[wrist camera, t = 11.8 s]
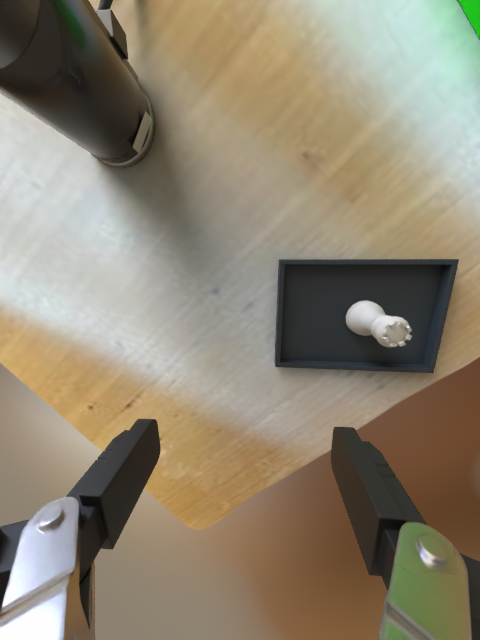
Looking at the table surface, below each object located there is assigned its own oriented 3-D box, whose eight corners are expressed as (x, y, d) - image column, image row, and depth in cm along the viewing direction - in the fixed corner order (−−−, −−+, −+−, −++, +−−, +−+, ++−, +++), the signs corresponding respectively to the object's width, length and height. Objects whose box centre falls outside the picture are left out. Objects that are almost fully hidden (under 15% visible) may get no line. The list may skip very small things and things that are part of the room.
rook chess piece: (375, 295, 29) (418, 305, 21) (383, 326, 29) (427, 348, 22) (340, 306, 29) (369, 320, 22) (348, 337, 30) (379, 361, 22)
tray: (278, 260, 29) (280, 259, 27) (445, 259, 27) (459, 259, 26) (274, 361, 32) (275, 367, 31) (423, 366, 31) (433, 373, 29)
